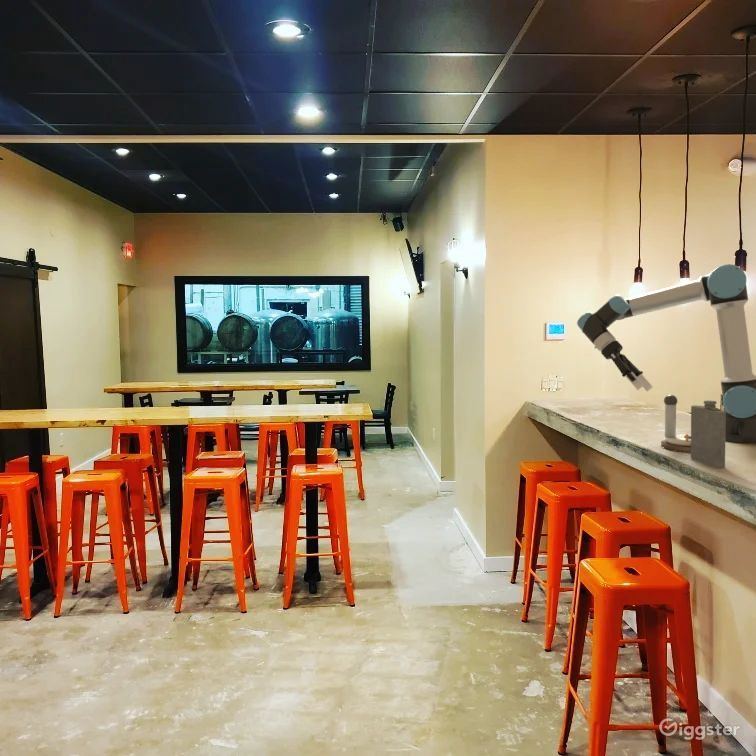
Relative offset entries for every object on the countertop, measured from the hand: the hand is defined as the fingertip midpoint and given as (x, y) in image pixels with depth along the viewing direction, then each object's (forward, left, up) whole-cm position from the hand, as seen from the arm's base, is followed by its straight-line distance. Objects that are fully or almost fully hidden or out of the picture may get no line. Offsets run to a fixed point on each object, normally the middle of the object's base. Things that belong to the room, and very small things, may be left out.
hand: (645, 388), depth 232 cm
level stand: (-11, +10, -21) cm, 25 cm away
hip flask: (-6, +34, -21) cm, 40 cm away
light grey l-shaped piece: (-11, +10, -19) cm, 24 cm away
